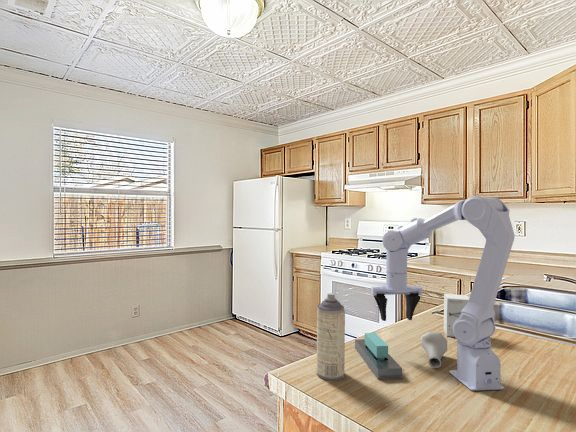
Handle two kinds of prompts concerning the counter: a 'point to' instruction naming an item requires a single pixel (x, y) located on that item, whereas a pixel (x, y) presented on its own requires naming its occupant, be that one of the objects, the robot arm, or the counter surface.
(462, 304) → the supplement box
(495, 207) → the robot arm
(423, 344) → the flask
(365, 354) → the rail
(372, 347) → the clip
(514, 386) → the counter surface
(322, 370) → the aerosol can
